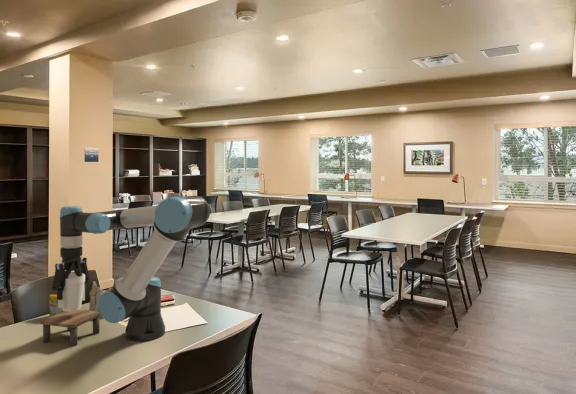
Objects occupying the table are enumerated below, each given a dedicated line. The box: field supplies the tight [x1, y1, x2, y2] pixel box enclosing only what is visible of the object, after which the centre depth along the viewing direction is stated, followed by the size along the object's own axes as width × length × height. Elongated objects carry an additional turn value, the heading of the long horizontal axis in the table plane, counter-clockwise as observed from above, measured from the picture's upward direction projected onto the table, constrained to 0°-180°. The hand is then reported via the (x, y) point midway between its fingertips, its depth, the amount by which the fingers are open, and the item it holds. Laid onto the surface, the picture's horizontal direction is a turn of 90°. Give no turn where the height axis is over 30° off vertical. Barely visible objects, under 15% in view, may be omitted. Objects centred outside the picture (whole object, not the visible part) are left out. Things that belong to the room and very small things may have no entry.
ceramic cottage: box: [88, 281, 112, 320], centre depth 190 cm, size 16×16×15 cm
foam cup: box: [60, 272, 85, 312], centre depth 160 cm, size 10×9×13 cm
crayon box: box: [48, 291, 63, 317], centre depth 182 cm, size 7×3×12 cm, turn 73°
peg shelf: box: [39, 309, 101, 347], centre depth 161 cm, size 15×15×8 cm
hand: (71, 303), depth 160 cm, fingers closed on foam cup, 9 cm apart
